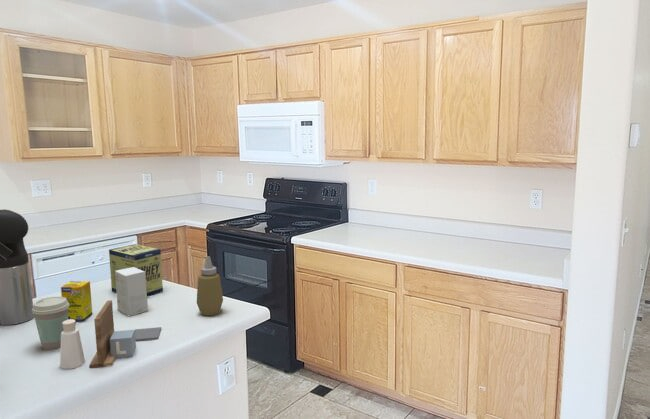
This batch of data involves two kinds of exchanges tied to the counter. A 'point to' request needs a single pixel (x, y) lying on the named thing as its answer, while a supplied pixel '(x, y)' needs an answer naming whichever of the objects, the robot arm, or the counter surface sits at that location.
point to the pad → (147, 334)
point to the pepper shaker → (71, 346)
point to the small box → (131, 291)
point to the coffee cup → (50, 320)
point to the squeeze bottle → (209, 290)
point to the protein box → (138, 265)
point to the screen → (103, 337)
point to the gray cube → (123, 343)
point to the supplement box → (78, 299)
